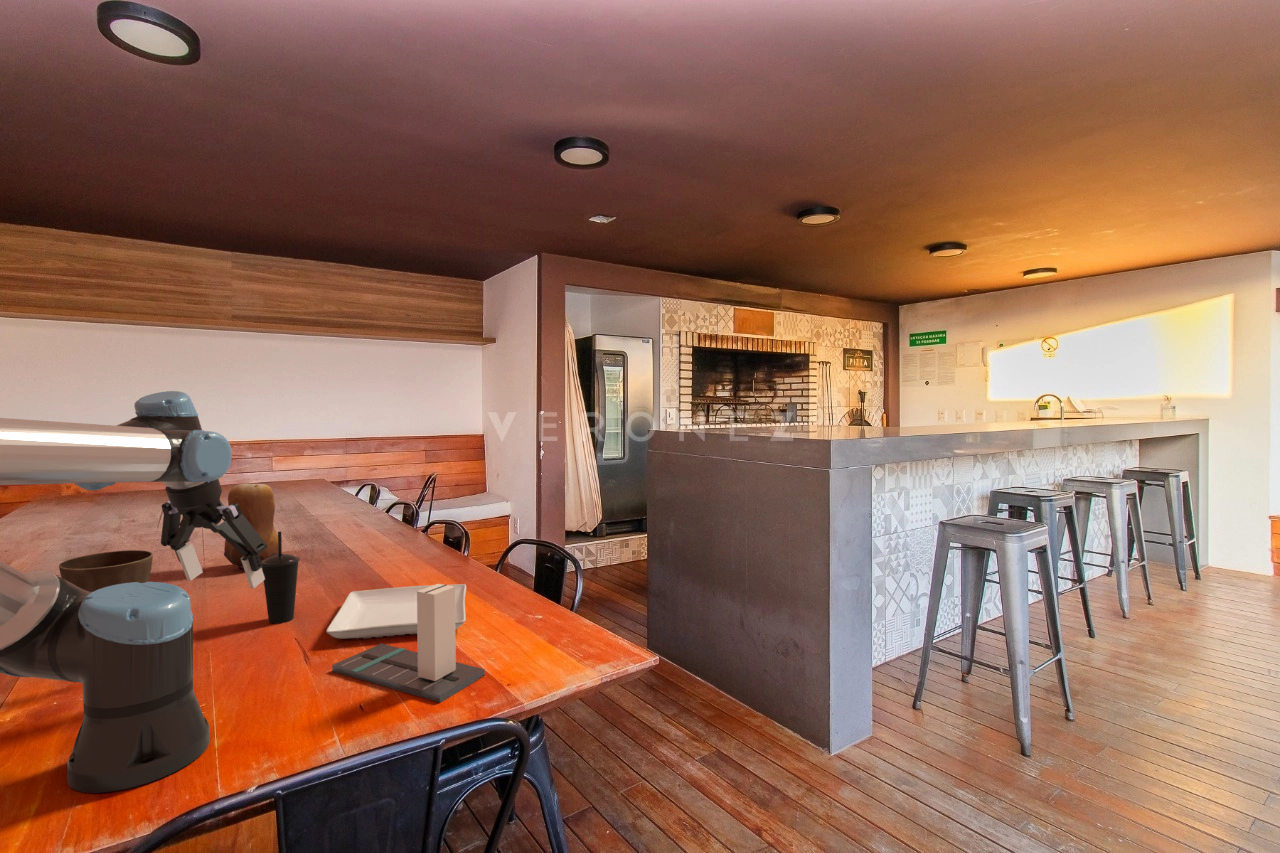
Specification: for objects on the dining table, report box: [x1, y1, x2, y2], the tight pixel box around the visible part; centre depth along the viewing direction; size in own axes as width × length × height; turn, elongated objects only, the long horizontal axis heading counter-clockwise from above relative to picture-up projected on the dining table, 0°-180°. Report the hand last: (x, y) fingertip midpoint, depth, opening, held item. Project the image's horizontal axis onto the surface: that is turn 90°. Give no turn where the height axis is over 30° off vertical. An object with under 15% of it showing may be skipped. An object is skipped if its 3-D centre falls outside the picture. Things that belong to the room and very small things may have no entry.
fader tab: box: [416, 583, 457, 681], centre depth 107 cm, size 4×5×15 cm
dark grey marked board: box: [331, 643, 486, 704], centre depth 110 cm, size 26×11×1 cm, turn 64°
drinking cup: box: [261, 530, 301, 624], centre depth 136 cm, size 8×8×20 cm
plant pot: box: [58, 549, 154, 592], centre depth 128 cm, size 15×15×16 cm
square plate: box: [325, 583, 467, 640], centre depth 138 cm, size 27×27×4 cm
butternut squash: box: [223, 483, 278, 568], centre depth 179 cm, size 14×13×25 cm
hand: (226, 580), depth 114 cm, fingers open, 13 cm apart
